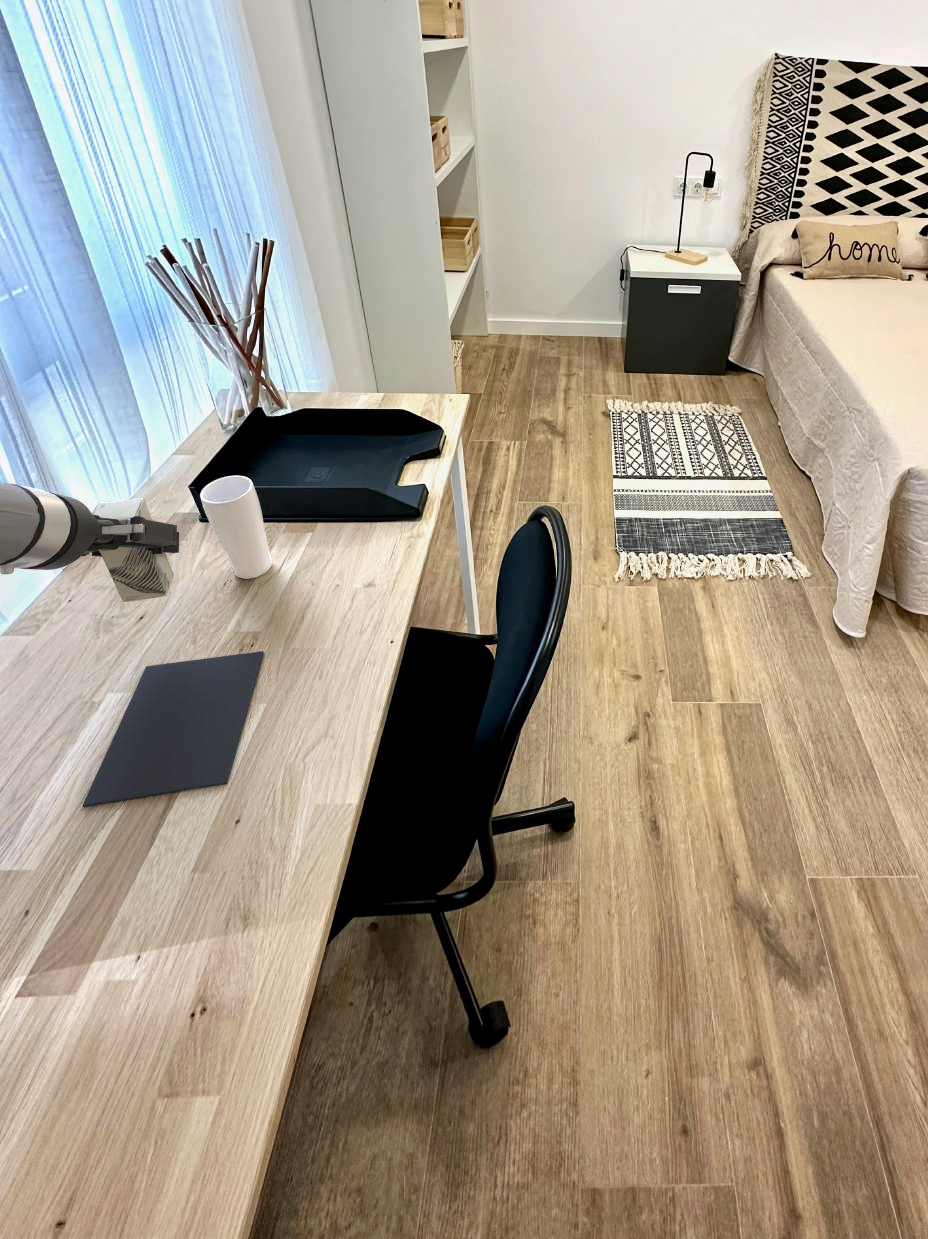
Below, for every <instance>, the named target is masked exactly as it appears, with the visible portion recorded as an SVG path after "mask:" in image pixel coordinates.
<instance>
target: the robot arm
mask: <svg viewBox="0 0 928 1239" xmlns="http://www.w3.org/2000/svg"><path fill="white" fill-rule="evenodd" d="M92 513H93V512H91V510H90V509H89V507H87V505H86V504H84V503H83V502H81V501H80V500H78V499H77V498H74V497H72V496H68V495H63V494H59V493H55V492H49V491H46V490H44V489H39V488H34V487H32V486H31V487H30V486H26V485H22V484H16V483H9V482H4V481H0V574H1V575H12V574H13V573H14V572H15V569H21V570H36V571H37V570H38V571H52V570H58V569H61V568H64V567H66V566H69V565H72V564H73V563H74V562H76V561H77V560H78V559H80V558H81V557H86V556H89V555H90V554H91V557H98V558H102V555H101V553H100V551H109V550H116V549H118V548H119V547H132V548H148V551H152V555H155V554H163V552H165V553H166V554H179V553H180V532H179V531H178V525H177V524H174V523H167V522H161V521H157V520H153V521H151V520H146V519H145V518H144V517H140V516H135V517H132V518H130V519H127V520H126V524H121V523H120V522H119V520H118V519H110V518H101V517H99V516H98V515H93V514H92ZM102 544H103V545H102Z"/></svg>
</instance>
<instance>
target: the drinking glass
mask: <svg viewBox="0 0 928 1239" xmlns="http://www.w3.org/2000/svg"><path fill="white" fill-rule="evenodd" d="M255 488H256V487H255V486H254V483H253V481H252V480H251V479H250V478H249V477H247V476H243V475H229V476H228V475H227V476H224V477H220V478H217V479H215V480H213V481H211V482H210V483H208V484H207V485H205V486H204V487H203V488H202V489H201V492H200V494H199V497H200V500H201V505H202V508H203V511H204V513H205V516H206V518H207V520H208V522H209V525H210V528H212V530H213V532H214V534H215V536H216V538H217V541H218V542H219V544H220V546H221V548H222V550H223V552H224V554H225V555H226V556H225V557H226V558H227V559H228V561H229V564H230V566H231V569H232V570H233V573H234V575H235V576H236V577H237V578H239V579H244V580H251V579H256V578H258V577H260V576H263V575H264V574H266V573H267V572H268V571H269V570H270V568H271V567H272V565H273V557H272V554H271V551H270V547H269V542H268V537H267V533H266V527H265V522H264V518H263V517H264V516H263V511H262V507H261V503H260V499H259V496H258V494H257V490H256V489H255Z"/></svg>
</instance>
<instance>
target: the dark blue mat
mask: <svg viewBox="0 0 928 1239" xmlns="http://www.w3.org/2000/svg"><path fill="white" fill-rule="evenodd" d="M264 655H265V652H264V650H262V651H261V650H260V651H253V652H246V653H238V654H237V653H236V654H231V655H223V656H215V657H208V658H207V657H206V658H200V659H192V660H183V661H177V662H176V661H175V662H169V663H168V662H167V663H161V664H153V665H146V666H145V668H144V670H143V672H142V675H141V676H140V679H139V681H138V683H137V685H136V687H135V689H134V692H133V694H132V696H131V699H130V700H129V702H128V705H127V707H126V709H125V712H124V713H123V716H122V718H121V720H120V723H119V725H118V726H117V729H116V731H115V733H114V736H113V738H112V739H111V742H110V744H109V746H108V749H107V751H106V754H105V755H104V757H103V759H102V762H101V763H100V766H99V768H98V770H97V772H96V775H95V776H94V779H93V781H92V783H91V786H90V788H89V790H88V792H87V795H86V797H85V799H84V801H83V803H82V807H83V808H87V807H94V806H100V805H101V806H102V805H106V804H113V803H118V802H125V801H132V800H137V799H143V798H151V797H155V796H161V795H162V796H163V795H168V794H175V793H180V792H186V791H187V792H188V791H193V790H200V789H205V788H212V787H218V786H225V785H228V783H229V780H230V776H231V773H232V769H233V765H234V761H235V758H236V754H237V751H238V747H239V744H240V740H241V736H242V733H243V729H244V726H245V723H246V719H247V715H248V711H249V708H250V704H251V701H252V698H253V694H254V690H255V687H256V684H257V680H258V676H259V673H260V669H261V665H262V661H263V659H264Z"/></svg>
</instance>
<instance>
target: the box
mask: <svg viewBox="0 0 928 1239" xmlns="http://www.w3.org/2000/svg"><path fill="white" fill-rule="evenodd" d="M91 513H92V514H93V515H98V516H99V517H101V518H110V519H118V520H119V522H120V523H121V524H126V520H127V519H130V518H132V517H135V516H140V517H144V518H145V519H146V520H151V521H154V520H153V517H152V515H151V512H150V510H149V507H148V504H147V501H146V498H144V497H138V498H129V499H118V500H109V501H104V502H103V501H102V502H98V503H97V504H96V506H95V508H94V509H93V511H92V512H91ZM102 545H103V544H102ZM100 553H101V555H102V557H101V559H102V560H103V562H104V564H105V566H106V568H107V569H108V573H109V574H110V577H111V579H112V581H113V583H114V586H115V587H116V590H117V593H118V595H119V596H120V598H121V601H122V602H123V603H128V602H135V601H136V602H137V601H143V600H149V599H157V598H162V597H166V596H167V595H168V593H169V590H170V588H171V585H172V582H173V578H174V576H175V573H174V571H173V568H172V566H171V563H170V560H169V558H168V555H167V553H165V552H163V554H155V555H152V551H148V548H132V547H119V548H118V549H116V550H109V551H100Z"/></svg>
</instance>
